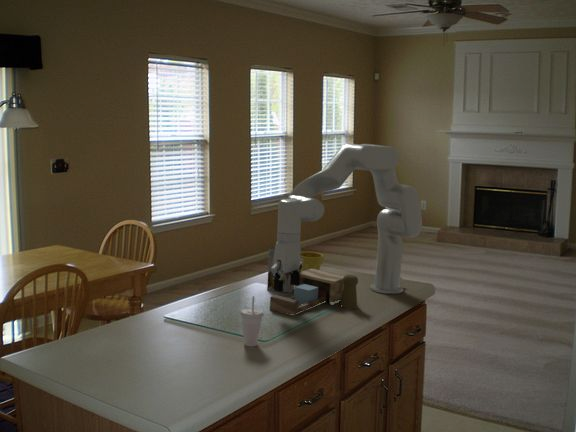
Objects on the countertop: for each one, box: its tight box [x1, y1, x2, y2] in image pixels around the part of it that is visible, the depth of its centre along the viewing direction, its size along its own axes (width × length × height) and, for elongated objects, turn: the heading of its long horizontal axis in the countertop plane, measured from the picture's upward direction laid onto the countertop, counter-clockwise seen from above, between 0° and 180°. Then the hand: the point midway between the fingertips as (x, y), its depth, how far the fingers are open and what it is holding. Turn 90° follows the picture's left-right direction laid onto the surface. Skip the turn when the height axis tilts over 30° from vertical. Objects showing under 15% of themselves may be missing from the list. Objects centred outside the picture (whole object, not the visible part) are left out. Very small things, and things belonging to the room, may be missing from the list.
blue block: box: [293, 284, 319, 304], centre depth 228 cm, size 6×6×6 cm
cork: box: [339, 274, 359, 310], centre depth 227 cm, size 6×6×11 cm
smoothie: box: [240, 296, 264, 347], centre depth 184 cm, size 6×6×14 cm
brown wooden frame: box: [269, 290, 328, 315], centre depth 224 cm, size 21×9×4 cm, turn 146°
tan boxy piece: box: [294, 269, 345, 303], centre depth 236 cm, size 10×16×8 cm, turn 56°
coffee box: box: [266, 244, 295, 294], centre depth 243 cm, size 9×6×16 cm
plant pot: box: [301, 251, 324, 271], centre depth 264 cm, size 10×10×10 cm
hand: (286, 288), depth 216 cm, fingers open, 9 cm apart
